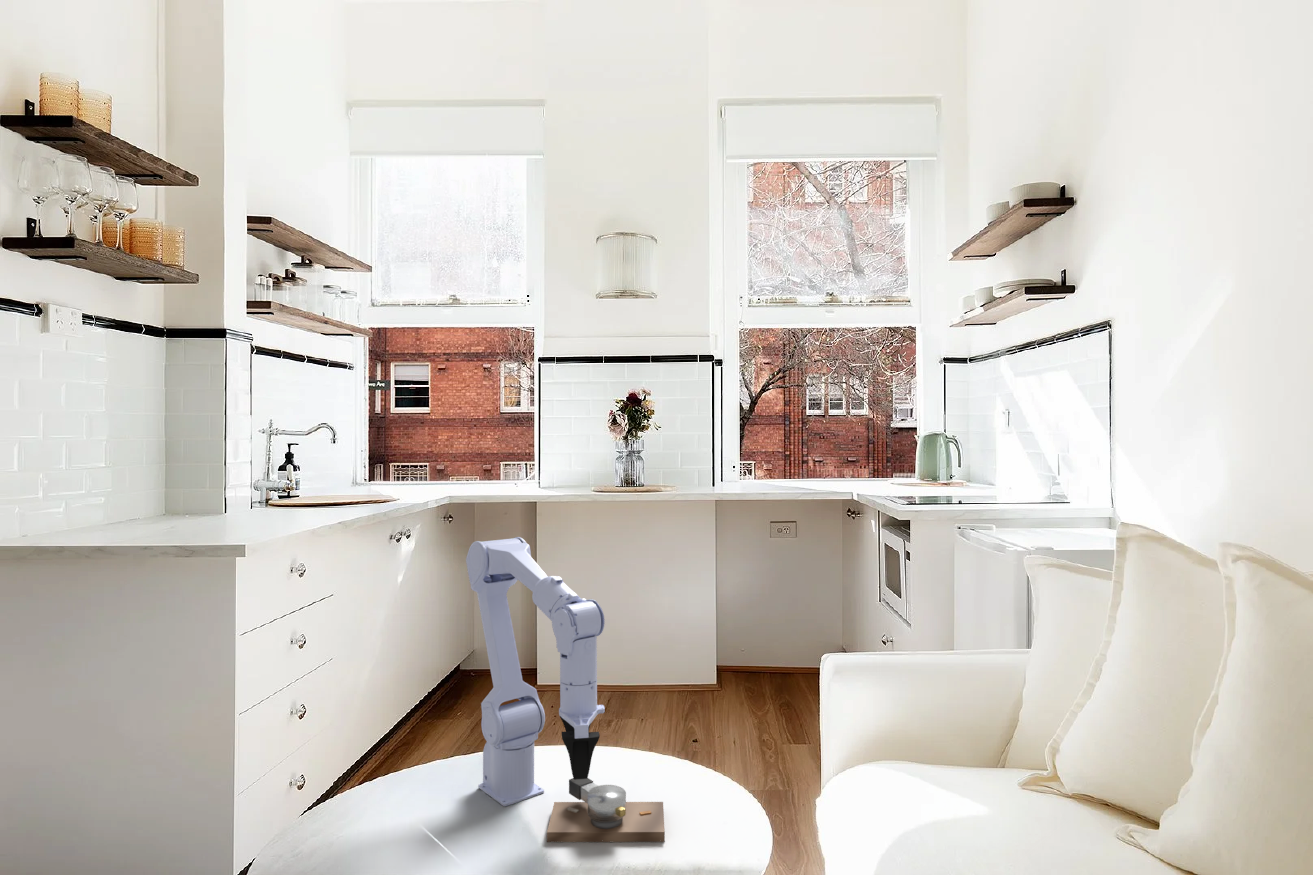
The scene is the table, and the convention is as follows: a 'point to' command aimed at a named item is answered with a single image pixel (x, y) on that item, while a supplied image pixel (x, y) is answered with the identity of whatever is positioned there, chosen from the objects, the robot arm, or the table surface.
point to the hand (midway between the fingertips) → (578, 767)
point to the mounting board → (606, 824)
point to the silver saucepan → (600, 799)
